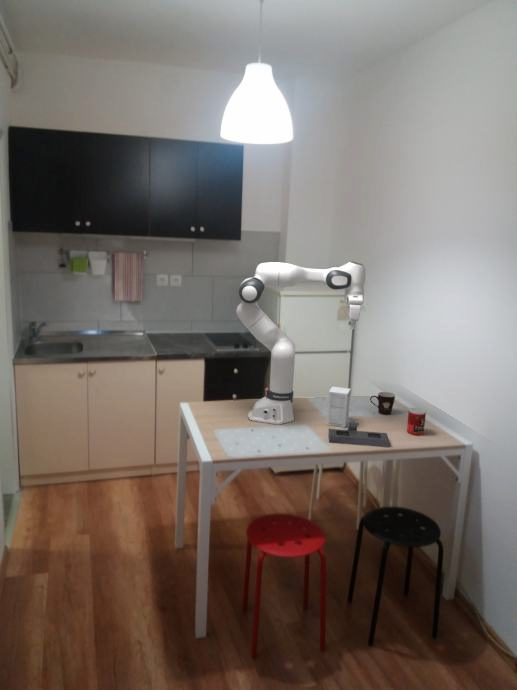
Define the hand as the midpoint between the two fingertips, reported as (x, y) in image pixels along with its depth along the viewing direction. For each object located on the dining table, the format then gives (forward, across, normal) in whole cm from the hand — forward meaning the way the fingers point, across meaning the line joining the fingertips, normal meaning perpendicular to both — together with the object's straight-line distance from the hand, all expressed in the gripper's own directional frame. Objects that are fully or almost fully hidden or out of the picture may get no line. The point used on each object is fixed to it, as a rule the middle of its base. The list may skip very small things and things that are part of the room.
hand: (351, 327), depth 267 cm
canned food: (+48, +7, +33) cm, 58 cm away
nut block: (+47, +13, +3) cm, 49 cm away
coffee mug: (+48, -20, +22) cm, 56 cm away
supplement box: (+48, +1, -3) cm, 48 cm away
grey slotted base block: (+47, +22, +5) cm, 52 cm away
